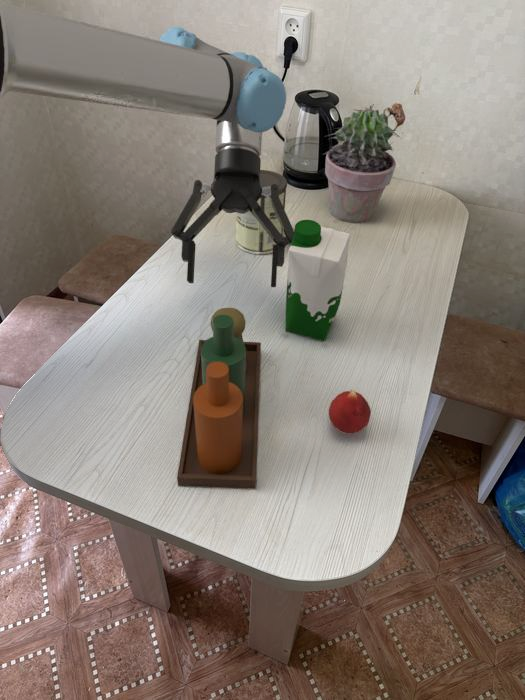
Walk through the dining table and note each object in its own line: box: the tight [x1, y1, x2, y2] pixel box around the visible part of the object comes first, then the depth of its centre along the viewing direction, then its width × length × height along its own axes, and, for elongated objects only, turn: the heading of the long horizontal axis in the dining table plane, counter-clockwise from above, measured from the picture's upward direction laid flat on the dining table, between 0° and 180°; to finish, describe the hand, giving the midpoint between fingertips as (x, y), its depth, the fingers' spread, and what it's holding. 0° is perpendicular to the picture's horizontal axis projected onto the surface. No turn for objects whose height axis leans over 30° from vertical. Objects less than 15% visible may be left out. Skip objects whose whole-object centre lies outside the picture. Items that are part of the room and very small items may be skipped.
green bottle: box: [201, 315, 246, 412], centre depth 69 cm, size 6×6×17 cm
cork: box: [210, 306, 247, 372], centre depth 78 cm, size 6×6×11 cm
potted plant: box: [315, 102, 406, 224], centre depth 113 cm, size 18×20×25 cm
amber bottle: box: [193, 362, 243, 474], centre depth 63 cm, size 6×6×17 cm
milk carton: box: [285, 219, 351, 342], centre depth 83 cm, size 9×9×20 cm
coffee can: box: [235, 169, 288, 256], centre depth 105 cm, size 10×10×14 cm
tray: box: [176, 339, 262, 490], centre depth 75 cm, size 10×26×2 cm, turn 179°
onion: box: [328, 389, 372, 435], centre depth 71 cm, size 6×6×8 cm
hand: (231, 284), depth 82 cm, fingers open, 13 cm apart
